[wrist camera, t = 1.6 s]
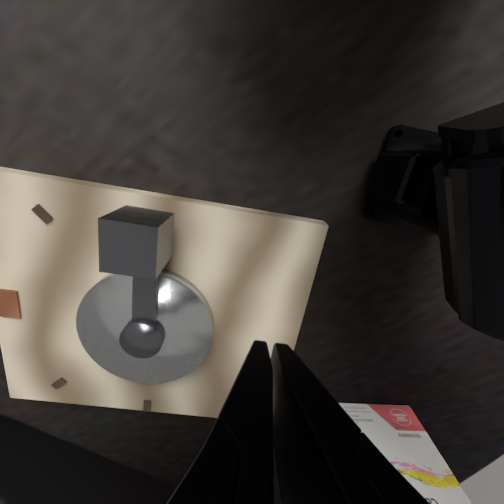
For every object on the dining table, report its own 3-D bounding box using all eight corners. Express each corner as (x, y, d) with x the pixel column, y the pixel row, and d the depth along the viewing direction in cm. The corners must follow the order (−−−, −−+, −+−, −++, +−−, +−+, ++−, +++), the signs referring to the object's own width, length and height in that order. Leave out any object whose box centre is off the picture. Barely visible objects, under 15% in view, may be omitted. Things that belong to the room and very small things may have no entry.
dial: (206, 378, 23) (197, 430, 19) (87, 365, 23) (49, 417, 18) (230, 217, 18) (226, 238, 14) (79, 192, 18) (24, 206, 13)
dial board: (322, 220, 21) (329, 226, 19) (271, 409, 27) (273, 425, 26) (-12, 164, 19) (-36, 165, 17) (23, 383, 25) (8, 399, 24)
